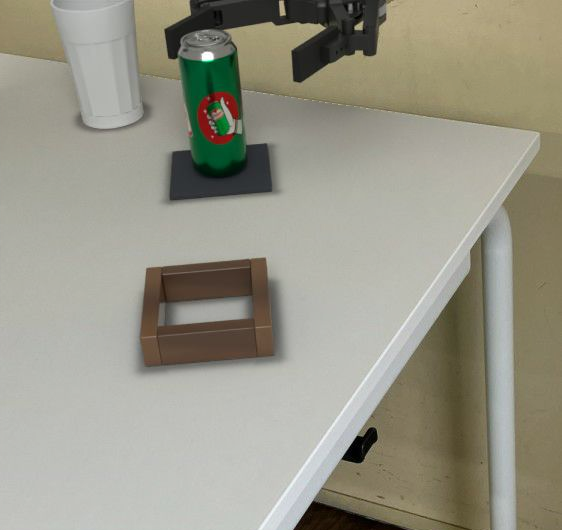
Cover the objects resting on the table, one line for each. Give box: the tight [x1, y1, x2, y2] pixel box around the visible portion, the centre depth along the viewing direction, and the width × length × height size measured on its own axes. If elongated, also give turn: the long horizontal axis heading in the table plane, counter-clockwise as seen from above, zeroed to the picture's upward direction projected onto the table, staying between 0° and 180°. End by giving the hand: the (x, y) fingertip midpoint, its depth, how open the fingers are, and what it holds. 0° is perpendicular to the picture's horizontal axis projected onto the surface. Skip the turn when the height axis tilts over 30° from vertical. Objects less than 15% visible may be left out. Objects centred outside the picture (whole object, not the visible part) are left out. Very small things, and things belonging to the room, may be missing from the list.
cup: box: [49, 0, 145, 130], centre depth 100 cm, size 8×8×12 cm
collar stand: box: [139, 256, 276, 367], centre depth 72 cm, size 9×9×2 cm
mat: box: [169, 142, 273, 201], centre depth 92 cm, size 9×9×1 cm
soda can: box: [177, 29, 248, 178], centre depth 88 cm, size 5×5×12 cm
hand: (230, 55), depth 88 cm, fingers open, 13 cm apart
